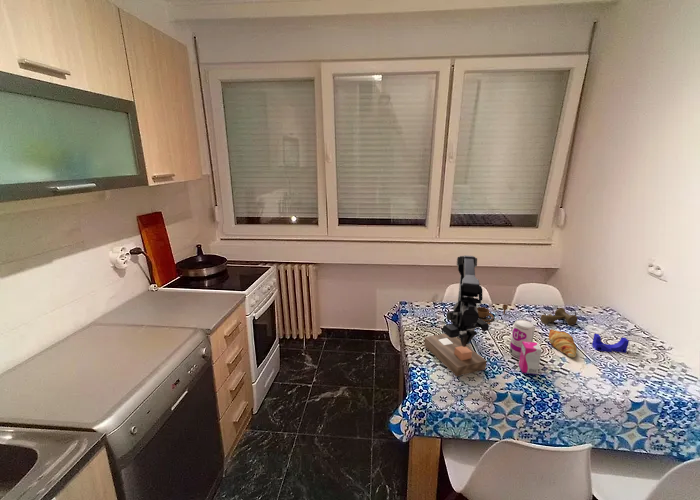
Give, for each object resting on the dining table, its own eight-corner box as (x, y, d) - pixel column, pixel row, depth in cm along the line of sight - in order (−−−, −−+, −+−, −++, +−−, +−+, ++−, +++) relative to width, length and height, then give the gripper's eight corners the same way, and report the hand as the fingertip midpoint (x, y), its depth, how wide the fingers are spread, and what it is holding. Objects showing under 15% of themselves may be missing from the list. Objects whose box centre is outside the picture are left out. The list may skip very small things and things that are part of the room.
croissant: (578, 367, 143) (591, 353, 140) (558, 356, 142) (571, 342, 140) (554, 340, 163) (565, 328, 161) (537, 330, 163) (548, 318, 160)
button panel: (449, 339, 157) (450, 332, 156) (485, 369, 135) (486, 360, 134) (424, 345, 152) (424, 337, 151) (456, 376, 130) (457, 367, 129)
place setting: (468, 309, 190) (469, 300, 189) (505, 313, 186) (507, 303, 184) (471, 323, 174) (472, 313, 172) (512, 328, 169) (514, 318, 168)
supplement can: (521, 361, 140) (527, 329, 136) (505, 351, 148) (509, 321, 144) (534, 356, 144) (539, 325, 140) (517, 347, 151) (522, 317, 147)
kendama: (535, 319, 178) (568, 316, 182) (549, 329, 169) (582, 324, 173) (537, 309, 177) (570, 306, 180) (551, 318, 168) (585, 314, 171)
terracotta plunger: (463, 352, 140) (464, 345, 139) (471, 359, 136) (472, 351, 135) (454, 354, 139) (455, 347, 138) (461, 361, 134) (462, 353, 133)
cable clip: (595, 350, 150) (598, 338, 148) (591, 345, 154) (594, 333, 152) (627, 355, 146) (630, 342, 145) (622, 349, 150) (625, 337, 149)
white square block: (446, 344, 152) (446, 337, 151) (452, 350, 148) (453, 343, 147) (437, 346, 150) (437, 339, 149) (443, 352, 146) (444, 345, 145)
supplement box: (533, 366, 137) (537, 342, 134) (537, 375, 131) (542, 350, 128) (518, 364, 138) (522, 340, 135) (521, 373, 133) (526, 348, 130)
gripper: (473, 300, 142) (469, 333, 146) (436, 306, 136) (433, 340, 140) (492, 311, 132) (487, 346, 136) (452, 318, 126) (449, 354, 130)
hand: (463, 346), depth 136 cm, fingers closed
